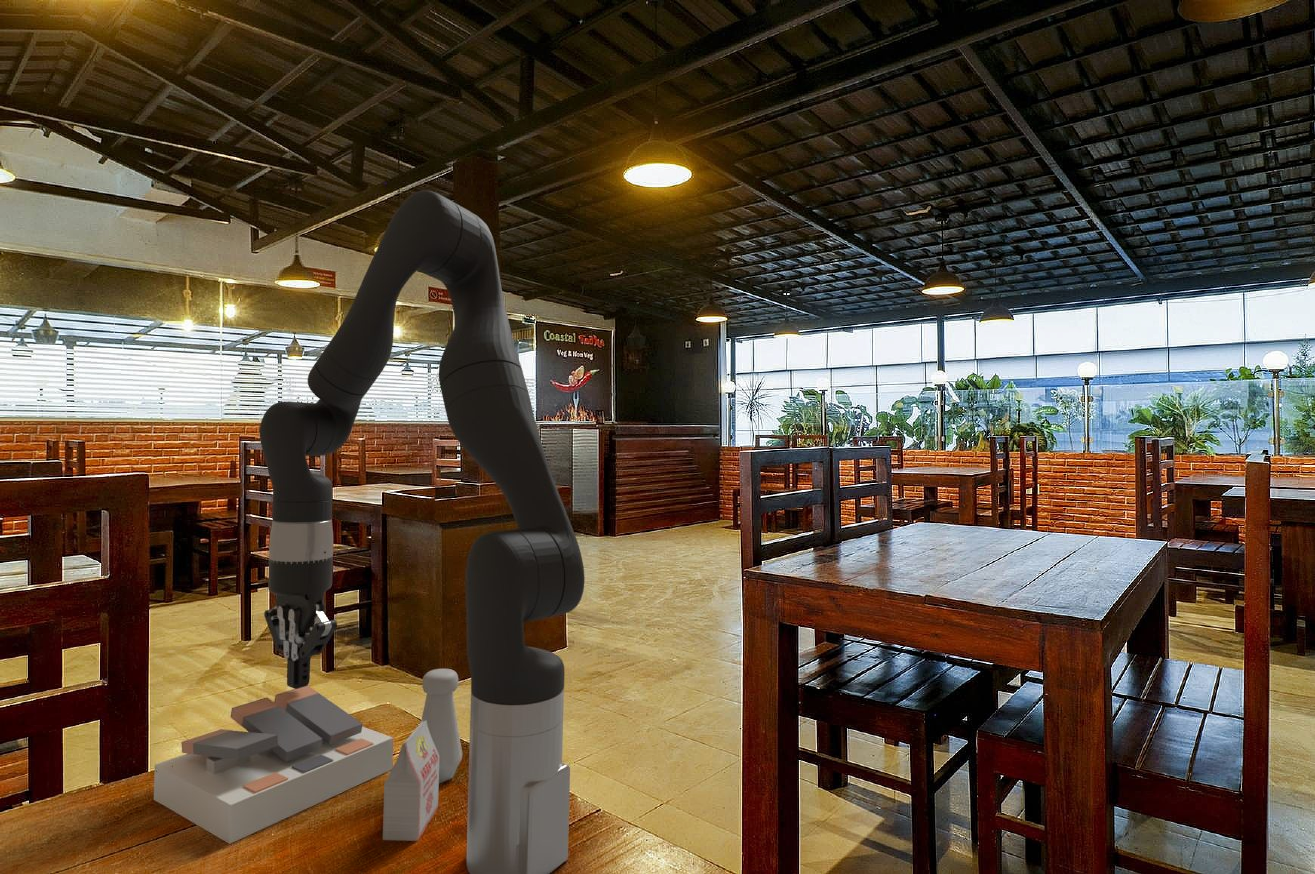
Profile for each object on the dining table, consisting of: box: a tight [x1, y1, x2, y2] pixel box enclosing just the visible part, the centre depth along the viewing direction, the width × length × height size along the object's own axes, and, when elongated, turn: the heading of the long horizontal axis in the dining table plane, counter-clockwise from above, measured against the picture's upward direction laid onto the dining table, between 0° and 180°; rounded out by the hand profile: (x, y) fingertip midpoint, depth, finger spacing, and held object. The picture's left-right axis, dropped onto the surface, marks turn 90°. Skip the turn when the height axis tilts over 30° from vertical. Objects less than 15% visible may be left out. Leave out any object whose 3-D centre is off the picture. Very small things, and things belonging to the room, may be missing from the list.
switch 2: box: [230, 697, 323, 762], centre depth 86 cm, size 12×4×1 cm, turn 59°
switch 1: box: [181, 728, 278, 760], centre depth 82 cm, size 12×4×1 cm, turn 59°
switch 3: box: [273, 684, 363, 745], centre depth 91 cm, size 12×4×1 cm, turn 59°
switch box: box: [153, 726, 394, 845], centre depth 86 cm, size 16×20×5 cm
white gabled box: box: [382, 720, 440, 842], centre depth 78 cm, size 4×7×10 cm, turn 0°
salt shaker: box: [420, 668, 463, 784], centre depth 89 cm, size 6×6×13 cm
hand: (297, 686), depth 94 cm, fingers closed
